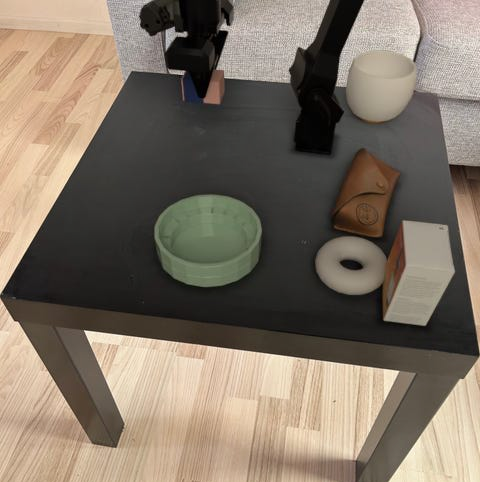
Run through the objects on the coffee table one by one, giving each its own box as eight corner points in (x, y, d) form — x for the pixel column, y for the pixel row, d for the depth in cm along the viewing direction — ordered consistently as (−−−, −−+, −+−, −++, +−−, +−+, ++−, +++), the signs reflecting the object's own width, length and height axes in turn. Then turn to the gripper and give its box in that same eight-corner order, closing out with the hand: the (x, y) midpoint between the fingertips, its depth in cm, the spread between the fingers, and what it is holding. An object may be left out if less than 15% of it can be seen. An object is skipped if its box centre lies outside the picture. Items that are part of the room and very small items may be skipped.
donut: (372, 311, 63) (393, 261, 68) (378, 294, 60) (400, 244, 66) (302, 285, 66) (328, 239, 71) (305, 268, 63) (331, 222, 68)
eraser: (224, 92, 78) (224, 69, 75) (219, 104, 76) (219, 82, 73) (189, 88, 79) (187, 66, 76) (183, 101, 76) (180, 78, 73)
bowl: (268, 225, 73) (269, 201, 70) (249, 297, 64) (250, 274, 61) (175, 212, 75) (172, 188, 71) (145, 280, 66) (139, 257, 63)
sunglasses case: (385, 238, 71) (370, 202, 67) (341, 246, 75) (325, 212, 71) (402, 170, 81) (390, 135, 77) (362, 180, 85) (349, 148, 81)
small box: (380, 276, 66) (401, 218, 58) (421, 281, 66) (448, 223, 58) (381, 322, 62) (404, 265, 53) (426, 327, 61) (456, 271, 53)
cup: (411, 133, 89) (427, 81, 81) (345, 132, 89) (355, 80, 81) (398, 99, 96) (412, 48, 89) (337, 99, 97) (345, 48, 89)
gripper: (159, -50, 71) (171, 60, 83) (118, -3, 59) (139, 116, 72) (233, -45, 69) (234, 65, 82) (205, 4, 58) (211, 123, 71)
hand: (205, 90), depth 76 cm, fingers closed on eraser, 4 cm apart
